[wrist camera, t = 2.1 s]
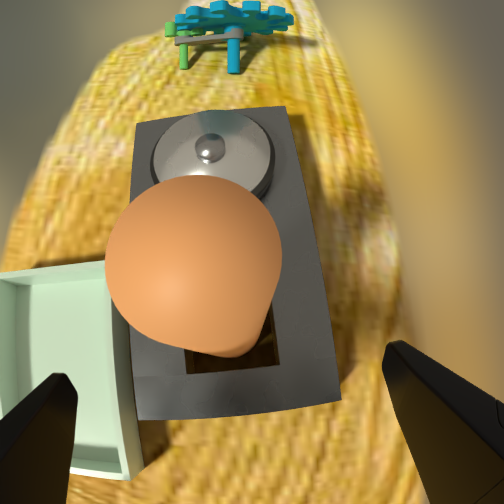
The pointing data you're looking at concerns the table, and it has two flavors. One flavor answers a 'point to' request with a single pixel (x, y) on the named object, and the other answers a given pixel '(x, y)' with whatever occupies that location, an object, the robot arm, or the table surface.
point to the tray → (73, 359)
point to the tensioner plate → (288, 287)
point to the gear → (225, 27)
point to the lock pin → (195, 264)
